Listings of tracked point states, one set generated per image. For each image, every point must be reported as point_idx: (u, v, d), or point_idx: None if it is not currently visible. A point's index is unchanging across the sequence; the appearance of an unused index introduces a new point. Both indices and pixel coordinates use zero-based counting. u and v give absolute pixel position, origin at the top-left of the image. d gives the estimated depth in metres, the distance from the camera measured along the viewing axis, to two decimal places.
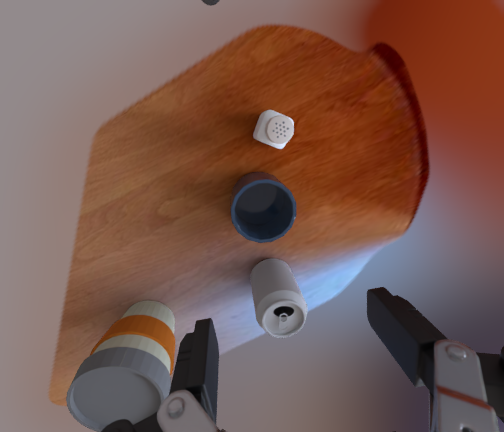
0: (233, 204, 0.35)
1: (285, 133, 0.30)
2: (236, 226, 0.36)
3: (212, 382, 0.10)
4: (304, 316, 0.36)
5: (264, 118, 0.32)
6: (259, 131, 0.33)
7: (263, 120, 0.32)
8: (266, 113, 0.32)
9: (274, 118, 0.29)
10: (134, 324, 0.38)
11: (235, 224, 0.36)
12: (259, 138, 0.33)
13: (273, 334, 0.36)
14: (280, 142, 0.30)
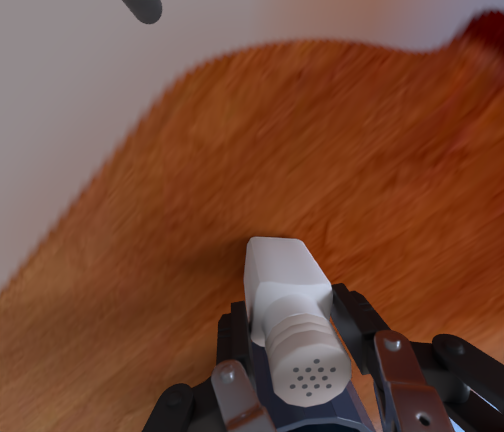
0: None
1: (328, 380, 0.10)
2: None
3: (251, 357, 0.11)
4: None
5: (257, 306, 0.13)
6: (253, 332, 0.13)
7: (256, 310, 0.13)
8: (259, 293, 0.12)
9: (286, 360, 0.10)
10: None
11: None
12: (258, 343, 0.14)
13: None
14: (320, 402, 0.10)
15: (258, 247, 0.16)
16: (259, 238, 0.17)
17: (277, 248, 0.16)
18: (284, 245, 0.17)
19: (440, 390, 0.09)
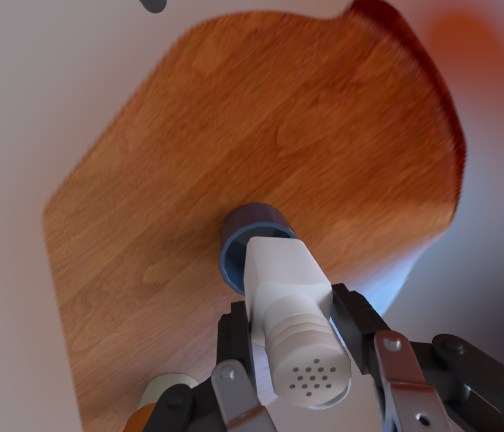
0: (221, 263, 0.27)
1: (328, 380, 0.10)
2: (233, 287, 0.28)
3: (251, 356, 0.11)
4: None
5: (257, 305, 0.13)
6: (253, 332, 0.13)
7: (256, 310, 0.13)
8: (259, 292, 0.12)
9: (286, 360, 0.10)
10: None
11: (231, 285, 0.28)
12: (258, 342, 0.14)
13: (314, 407, 0.28)
14: (320, 402, 0.10)
15: (258, 247, 0.16)
16: (259, 238, 0.17)
17: (277, 248, 0.16)
18: (284, 245, 0.17)
19: (440, 390, 0.09)
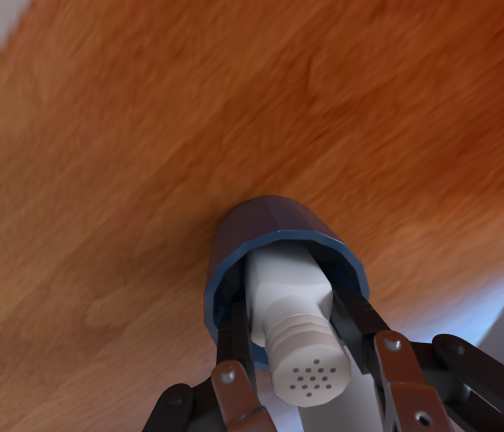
0: (207, 311, 0.14)
1: (328, 381, 0.10)
2: None
3: (251, 356, 0.11)
4: None
5: (257, 306, 0.13)
6: (254, 333, 0.13)
7: (256, 310, 0.13)
8: (259, 293, 0.13)
9: (286, 361, 0.10)
10: None
11: None
12: (258, 343, 0.14)
13: None
14: (320, 403, 0.10)
15: (258, 248, 0.16)
16: None
17: (277, 248, 0.16)
18: (284, 245, 0.17)
19: (440, 390, 0.09)
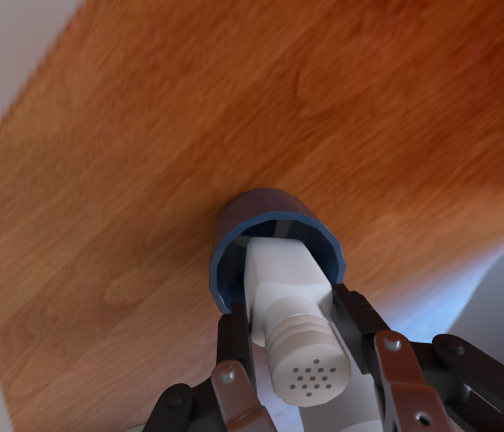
0: (212, 280, 0.17)
1: (328, 380, 0.10)
2: None
3: (251, 357, 0.11)
4: None
5: (257, 306, 0.13)
6: (254, 333, 0.13)
7: (256, 310, 0.13)
8: (259, 293, 0.13)
9: (286, 360, 0.10)
10: None
11: None
12: (258, 343, 0.14)
13: None
14: (320, 402, 0.10)
15: (258, 248, 0.16)
16: (259, 238, 0.17)
17: (277, 248, 0.16)
18: (284, 245, 0.17)
19: (440, 390, 0.09)
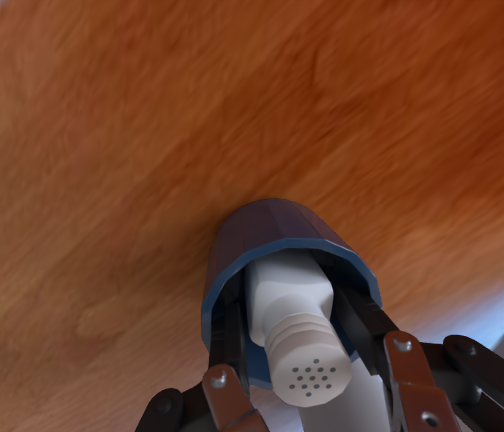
0: (205, 327, 0.12)
1: (328, 380, 0.10)
2: None
3: (244, 360, 0.11)
4: None
5: (257, 305, 0.12)
6: (253, 332, 0.13)
7: (256, 309, 0.13)
8: (258, 292, 0.12)
9: (286, 360, 0.09)
10: None
11: None
12: (258, 342, 0.13)
13: None
14: (320, 402, 0.10)
15: None
16: None
17: None
18: None
19: (451, 391, 0.09)
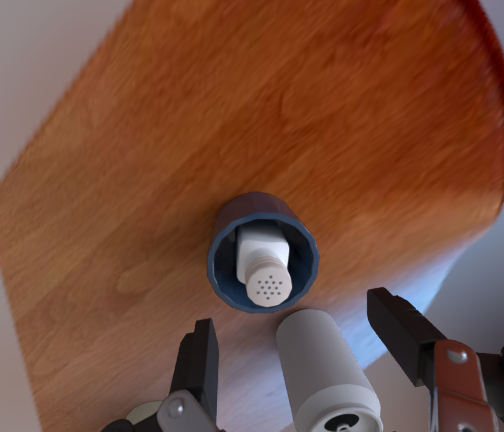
0: (209, 268, 0.20)
1: (278, 289, 0.18)
2: (225, 299, 0.21)
3: (212, 382, 0.10)
4: (379, 423, 0.20)
5: (241, 255, 0.20)
6: (239, 273, 0.21)
7: (240, 258, 0.20)
8: (242, 247, 0.20)
9: (254, 276, 0.17)
10: None
11: (223, 297, 0.21)
12: (242, 281, 0.21)
13: None
14: (274, 304, 0.18)
15: (244, 223, 0.24)
16: None
17: (257, 224, 0.24)
18: (262, 223, 0.24)
19: None
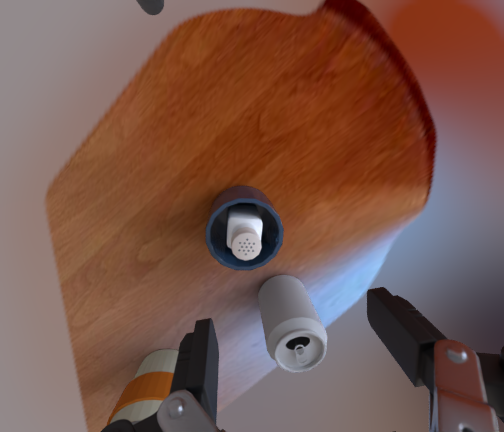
0: (207, 237, 0.30)
1: (252, 248, 0.27)
2: (218, 259, 0.31)
3: (212, 382, 0.10)
4: (323, 343, 0.30)
5: (229, 228, 0.30)
6: (228, 241, 0.30)
7: (228, 230, 0.30)
8: (229, 222, 0.30)
9: (236, 238, 0.27)
10: (144, 387, 0.35)
11: (216, 257, 0.31)
12: (230, 247, 0.31)
13: (293, 370, 0.31)
14: (250, 258, 0.27)
15: (232, 208, 0.33)
16: (234, 205, 0.34)
17: (241, 208, 0.33)
18: (245, 207, 0.34)
19: None
